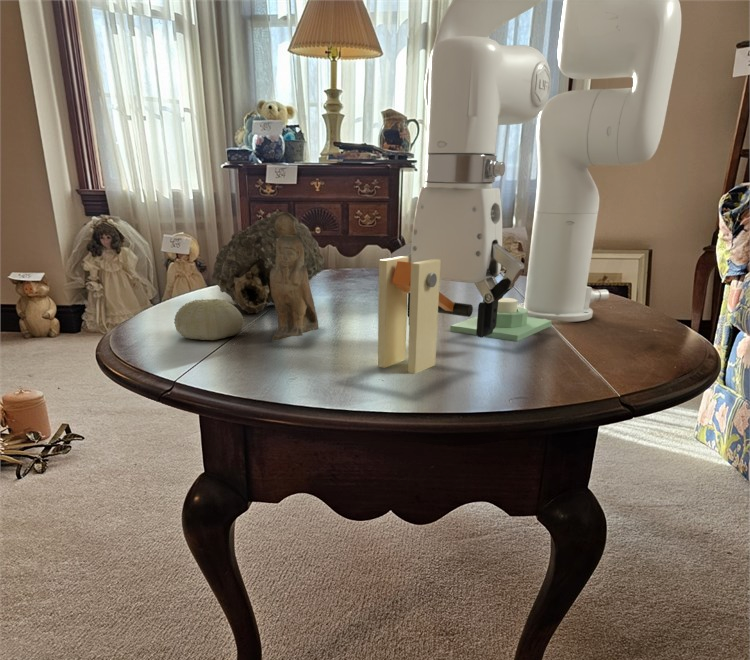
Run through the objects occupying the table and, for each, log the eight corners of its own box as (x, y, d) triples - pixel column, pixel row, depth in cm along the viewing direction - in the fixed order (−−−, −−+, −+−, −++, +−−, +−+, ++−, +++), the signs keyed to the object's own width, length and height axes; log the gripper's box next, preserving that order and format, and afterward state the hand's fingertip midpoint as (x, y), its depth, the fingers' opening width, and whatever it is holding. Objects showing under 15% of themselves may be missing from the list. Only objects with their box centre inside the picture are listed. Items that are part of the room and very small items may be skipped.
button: (497, 309, 93) (498, 296, 93) (520, 312, 92) (521, 299, 91) (485, 313, 91) (486, 300, 90) (509, 316, 89) (511, 303, 88)
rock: (281, 195, 112) (266, 179, 98) (337, 262, 116) (332, 256, 101) (206, 271, 116) (182, 266, 102) (263, 333, 119) (248, 337, 105)
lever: (434, 317, 81) (439, 298, 81) (469, 322, 79) (475, 302, 78) (380, 282, 70) (386, 259, 70) (420, 286, 67) (426, 263, 67)
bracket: (401, 360, 81) (404, 251, 76) (465, 372, 77) (474, 257, 71) (343, 383, 73) (341, 261, 67) (411, 398, 68) (416, 269, 62)
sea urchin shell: (174, 315, 95) (210, 274, 93) (217, 352, 98) (252, 314, 96) (161, 328, 87) (200, 284, 85) (208, 369, 90) (246, 327, 88)
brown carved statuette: (304, 365, 88) (292, 227, 77) (265, 362, 89) (248, 225, 78) (324, 328, 97) (316, 199, 86) (288, 326, 98) (276, 198, 87)
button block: (487, 326, 100) (489, 299, 98) (550, 335, 95) (553, 307, 93) (449, 341, 91) (451, 312, 89) (516, 352, 86) (519, 321, 84)
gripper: (546, 174, 71) (528, 334, 79) (411, 172, 80) (406, 316, 87) (518, 174, 65) (501, 346, 73) (376, 172, 74) (374, 326, 82)
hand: (449, 329), depth 80 cm, fingers open, 9 cm apart
